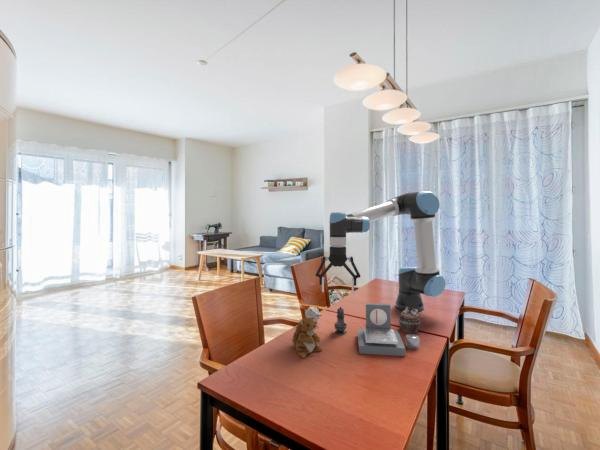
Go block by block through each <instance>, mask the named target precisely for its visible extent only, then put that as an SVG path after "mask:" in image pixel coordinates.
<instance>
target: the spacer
mask: <svg viewBox="0 0 600 450" xmlns="http://www.w3.org/2000/svg"><path fill="white" fill-rule="evenodd" d="M405 348H407V349H410V350H411V349H412V350H417V349H420V336H419V335H417V334H415V333H409V334H406V335H405Z"/></svg>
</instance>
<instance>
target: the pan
mask: <svg viewBox="0 0 600 450" xmlns="http://www.w3.org/2000/svg"><path fill="white" fill-rule="evenodd" d="M363 329H364V334H365V341H366V343H382V344H398V340H397V338H396V335H395V333H394V331H395V330H394V329H392V328H391V329H378V328H366V327H363Z"/></svg>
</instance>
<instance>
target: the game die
mask: <svg viewBox="0 0 600 450" xmlns="http://www.w3.org/2000/svg"><path fill="white" fill-rule="evenodd" d="M307 307H308V308H307V309H306V311H305V312H303V313H302V314H303V315H304V316H305V318H311V317H313V318H314V319H313V322H314V323H315V325H318V323H317V322H318V321H319V319H320V317H322V316H323V315H322V314H321V313H320V311H319V306H317V307H316V306H315V307H314V306H310V305H308V306H307Z"/></svg>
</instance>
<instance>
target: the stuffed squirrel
mask: <svg viewBox="0 0 600 450" xmlns="http://www.w3.org/2000/svg"><path fill="white" fill-rule="evenodd" d="M313 319H314V318H313V317H311V318H306V317H305V318H300V319H299V321H298V323H297V326H296V328H295V331H294V333H293V336H292V339H291V340H292V345H293V346H294V347H295V350H296V353H297V355H298V356H299V357H301V358H302V359H305V358H306V357H307V355H308V354H309V353H313V352H322V350H323V348H322V347H321V346H319V345H318V343H320V342H321V337H320V336H319V335H318V334H317V333H316V332H315V331H316V329H317V330H319V328H320V327H319V326H318V325H317V324H316V323H315V322H313Z"/></svg>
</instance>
